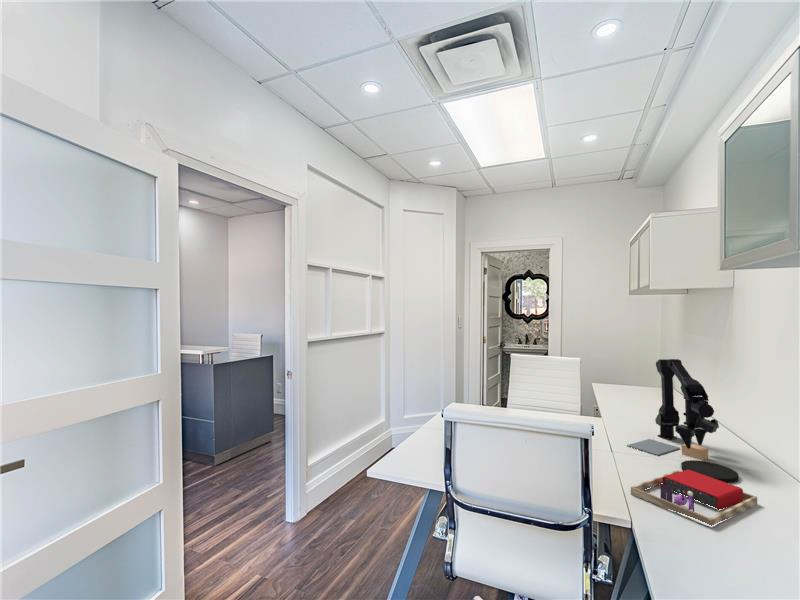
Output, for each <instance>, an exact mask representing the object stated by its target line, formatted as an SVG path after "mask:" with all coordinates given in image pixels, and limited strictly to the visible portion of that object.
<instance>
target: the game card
mask: <svg viewBox="0 0 800 600" xmlns="http://www.w3.org/2000/svg"><path fill="white" fill-rule="evenodd" d="M659 486H660V487H659V488H660V498H661V499H664V500H666V501H669V502H671V503H676V505H679V506H681V507H683V506H685V505H686V504H687V502H688V509H689V510H691V511H692V510H693V511H694V512H695V501H694V492H693V491H690V490H686V489H681V488H677V487H672V486H667V485H663V484H661V485H659ZM672 488H675V489H676V491H677V493H681V492H682V493H683V494H686V493H687V494H688V497H686V495H685V496H684V495H681V494H677V493H675V496H673V495H674V494H673V492H672ZM681 490H682V491H681ZM686 491H688V492H686ZM687 499H688V500H687Z"/></svg>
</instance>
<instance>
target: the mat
mask: <svg viewBox="0 0 800 600" xmlns="http://www.w3.org/2000/svg"><path fill="white" fill-rule="evenodd" d="M627 446H629V447H628V448H631V447H632V449H634V448H635V449H634V450H637V449H638V450H637V451H640V450H641V451H640V452H643V451H644V453H646V452H647V454H650V455H653V456H656V455H657V456H656V457H659V455H660V456H662V454H663V455H666V454H668V453H667V452H669V453H671V452H670V451H672V452H675V451H678V450H680V449H681V446H675V445H672V444H668V443H666V442H661V441H658V440H654V439H651V438H647V439H644V440H640V441H637V442H634V443H630V444H627V445H626V447H627ZM677 449H678V450H677ZM674 450H675V451H674ZM665 453H666V454H665Z"/></svg>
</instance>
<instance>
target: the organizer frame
mask: <svg viewBox="0 0 800 600" xmlns="http://www.w3.org/2000/svg"><path fill="white" fill-rule="evenodd" d="M681 471H682V470H677V469H676V470H674V471H671V472H669V473H665V474H663V475H660V476H657V477H655V478H651V479H649V480H646V481H643V482H641V483H637V484H635V485H633V486H631V487H630V495H631V496H635V497H637V498H640V499H641V498H642V500H643V499H644V501H646V500H647V501H646V502H648V501H650V502H649V503H651V502H652V503H651V504H653V503H654V504H653V505H655V504H656V506H658V507H660V506H661V507H660V508H662V507H663V508H662V509H665V508H666V509H665V510H667V509H670V510H673V511H676V512H679V513H682V514H685V515H687V516H690V517H693V518H695V519H698V520H700V521H702V522H705V523H707V524H709V525H711V526H712V525H714V524H716V523H718V522H720V521H723V520H725V519H728V518H730V517H732V518H734V517H736V516H738V515H741V514H742V513H744V512H746V511H748V510H750V509H751V508H753V507H755V506H757V505H758V496H756V495H754V494H749V493H747V492H744V491H743V502H741V503H739V504H736V505H734V506H731V507H729V508H726V509H724V510H722V511H720V512H718V513H717V514H715V515H712V516H710V517H708V516H706V515H704V514H703V515H702V514H701V513H698V512H695V510H694V511H692V510H689V508H686V507H683V506H680V505H677V504H674V502H673V503H671V502H669V501H666V500H664V499H661V497H660V496H656V495H654V494H651V493H649V492H647V491H646V490H645V489H647V488H650V487H653V486H656V485H658V486H660V485H659V484H661V483H663V480H662V478H663V477H664V476H667V475H671V474H674V473H678V472H681ZM656 487H657V486H656ZM653 488H654V487H653ZM650 489H651V488H650ZM643 490H645V491H643ZM737 514H738V515H737ZM735 515H736V516H735ZM733 516H734V517H733Z"/></svg>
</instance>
